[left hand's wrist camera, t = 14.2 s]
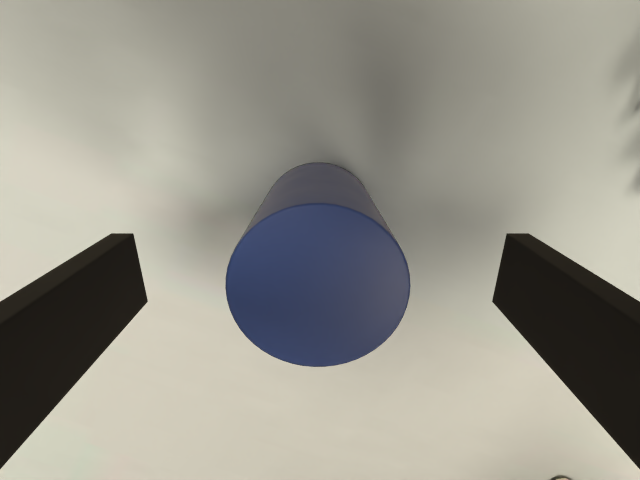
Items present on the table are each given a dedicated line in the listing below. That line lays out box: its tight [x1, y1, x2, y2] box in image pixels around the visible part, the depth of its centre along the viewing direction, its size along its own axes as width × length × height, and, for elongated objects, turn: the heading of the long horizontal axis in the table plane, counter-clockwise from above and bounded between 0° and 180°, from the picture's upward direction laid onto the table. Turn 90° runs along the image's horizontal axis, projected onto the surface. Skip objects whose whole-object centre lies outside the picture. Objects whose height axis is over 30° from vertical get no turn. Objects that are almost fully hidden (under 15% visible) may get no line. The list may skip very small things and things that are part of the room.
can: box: [226, 163, 410, 367], centre depth 15 cm, size 6×6×9 cm
